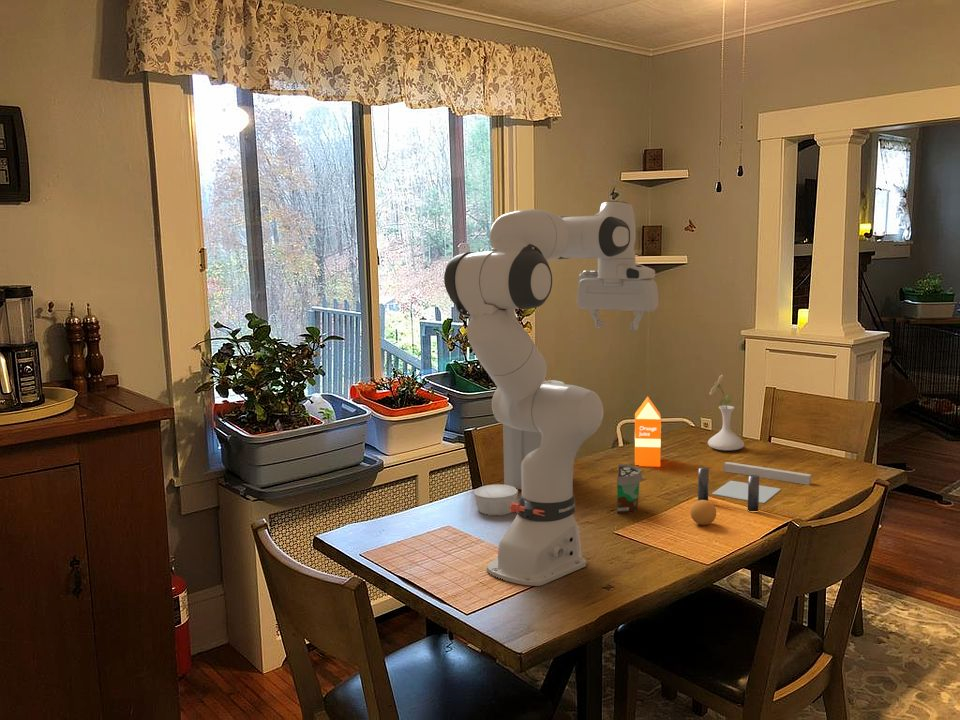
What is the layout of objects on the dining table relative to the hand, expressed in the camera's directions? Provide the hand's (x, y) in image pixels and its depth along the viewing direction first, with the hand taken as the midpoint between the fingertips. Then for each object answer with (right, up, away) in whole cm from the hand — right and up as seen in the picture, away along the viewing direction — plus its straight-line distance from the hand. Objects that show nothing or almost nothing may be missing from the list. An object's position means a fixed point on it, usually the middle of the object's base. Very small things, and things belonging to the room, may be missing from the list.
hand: (616, 328), depth 194 cm
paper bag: (-14, -43, +35) cm, 57 cm away
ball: (+21, -44, +1) cm, 49 cm away
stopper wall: (+49, -41, +37) cm, 74 cm away
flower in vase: (+46, -37, +68) cm, 90 cm away
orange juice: (+19, -39, +55) cm, 70 cm away
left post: (+26, -45, +18) cm, 54 cm away
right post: (+36, -46, +10) cm, 59 cm away
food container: (+6, -46, +14) cm, 48 cm away
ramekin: (-29, -47, +15) cm, 57 cm away
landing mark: (+39, -43, +25) cm, 63 cm away
